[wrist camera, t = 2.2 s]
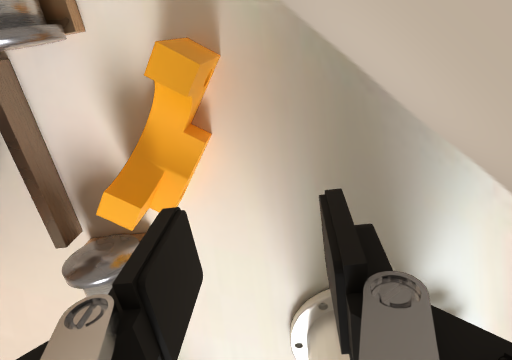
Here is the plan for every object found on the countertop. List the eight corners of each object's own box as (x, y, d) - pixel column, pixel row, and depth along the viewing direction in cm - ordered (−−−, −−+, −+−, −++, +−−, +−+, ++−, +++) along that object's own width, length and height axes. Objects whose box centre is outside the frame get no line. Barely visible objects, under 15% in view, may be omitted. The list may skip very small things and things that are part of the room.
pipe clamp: (182, 198, 29) (156, 241, 23) (134, 175, 29) (96, 214, 23) (242, 67, 24) (229, 80, 19) (187, 37, 24) (155, 41, 18)
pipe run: (61, -42, 22) (-18, -65, 17) (165, 271, 32) (139, 325, 27) (-39, -19, 23) (-147, -34, 18) (92, 277, 33) (52, 330, 28)
